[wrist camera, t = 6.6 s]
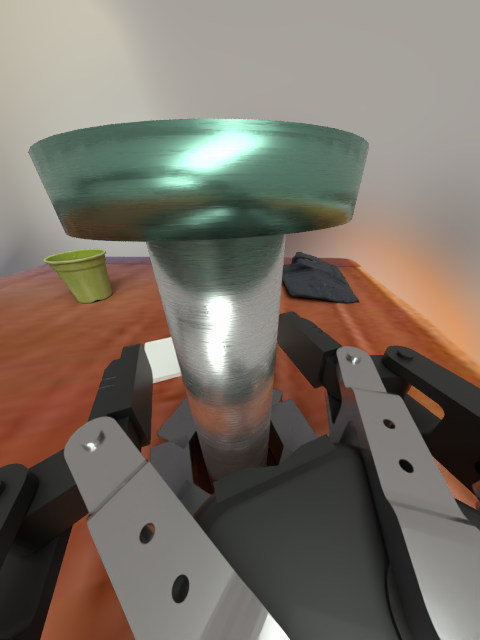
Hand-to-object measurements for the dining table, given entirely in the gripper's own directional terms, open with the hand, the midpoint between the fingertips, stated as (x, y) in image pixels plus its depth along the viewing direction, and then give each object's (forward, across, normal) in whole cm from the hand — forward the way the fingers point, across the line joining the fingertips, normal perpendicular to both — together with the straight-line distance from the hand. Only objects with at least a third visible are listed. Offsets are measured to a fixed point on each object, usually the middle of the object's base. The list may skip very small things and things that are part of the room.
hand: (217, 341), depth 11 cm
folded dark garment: (+27, -27, +11) cm, 40 cm away
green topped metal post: (-2, 0, +10) cm, 10 cm away
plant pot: (+37, +18, +10) cm, 42 cm away
